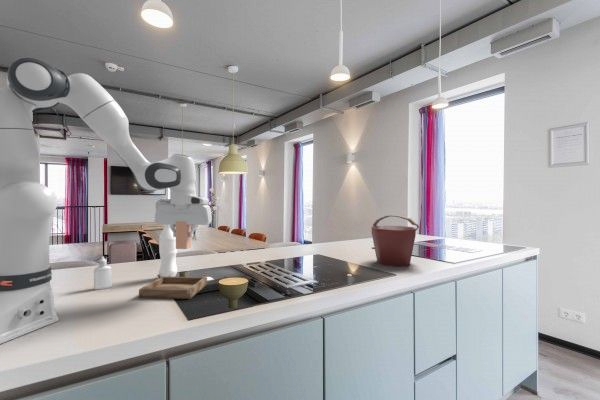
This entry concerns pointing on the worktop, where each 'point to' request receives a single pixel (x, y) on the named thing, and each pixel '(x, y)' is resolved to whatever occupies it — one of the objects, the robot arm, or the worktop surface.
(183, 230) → the shaker
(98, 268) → the eye dropper bottle
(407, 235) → the bucket
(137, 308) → the worktop surface
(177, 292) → the tray
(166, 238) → the water bottle
